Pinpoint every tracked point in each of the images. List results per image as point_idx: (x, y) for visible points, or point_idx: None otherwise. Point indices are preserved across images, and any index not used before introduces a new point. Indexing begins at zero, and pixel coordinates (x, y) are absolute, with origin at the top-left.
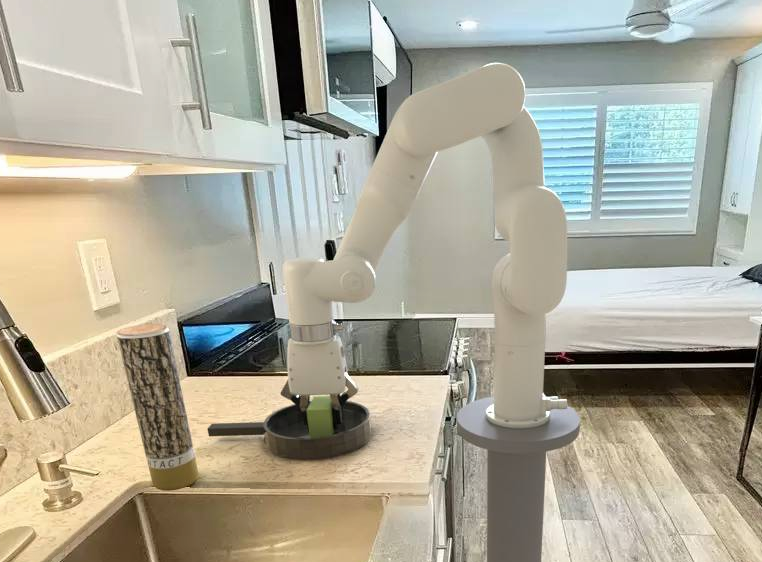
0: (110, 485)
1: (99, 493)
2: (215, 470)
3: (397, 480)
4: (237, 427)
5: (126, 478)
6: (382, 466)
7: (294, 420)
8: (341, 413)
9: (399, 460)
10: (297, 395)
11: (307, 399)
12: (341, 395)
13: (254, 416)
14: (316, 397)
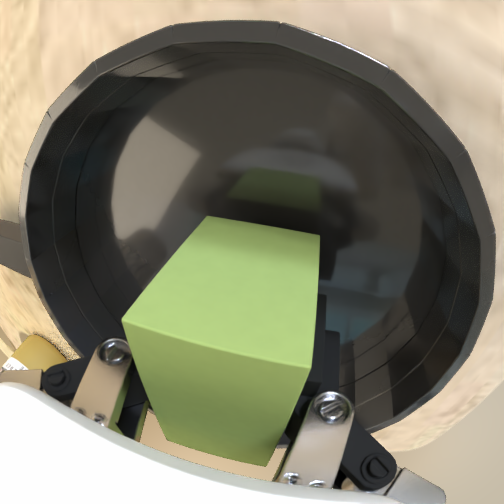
0: (5, 325)
1: (12, 337)
2: (71, 347)
3: (389, 451)
4: (6, 265)
5: (4, 315)
6: (387, 429)
7: (100, 123)
8: (343, 83)
9: (427, 417)
10: (67, 405)
11: (137, 437)
12: (344, 471)
13: (8, 57)
14: (149, 346)
